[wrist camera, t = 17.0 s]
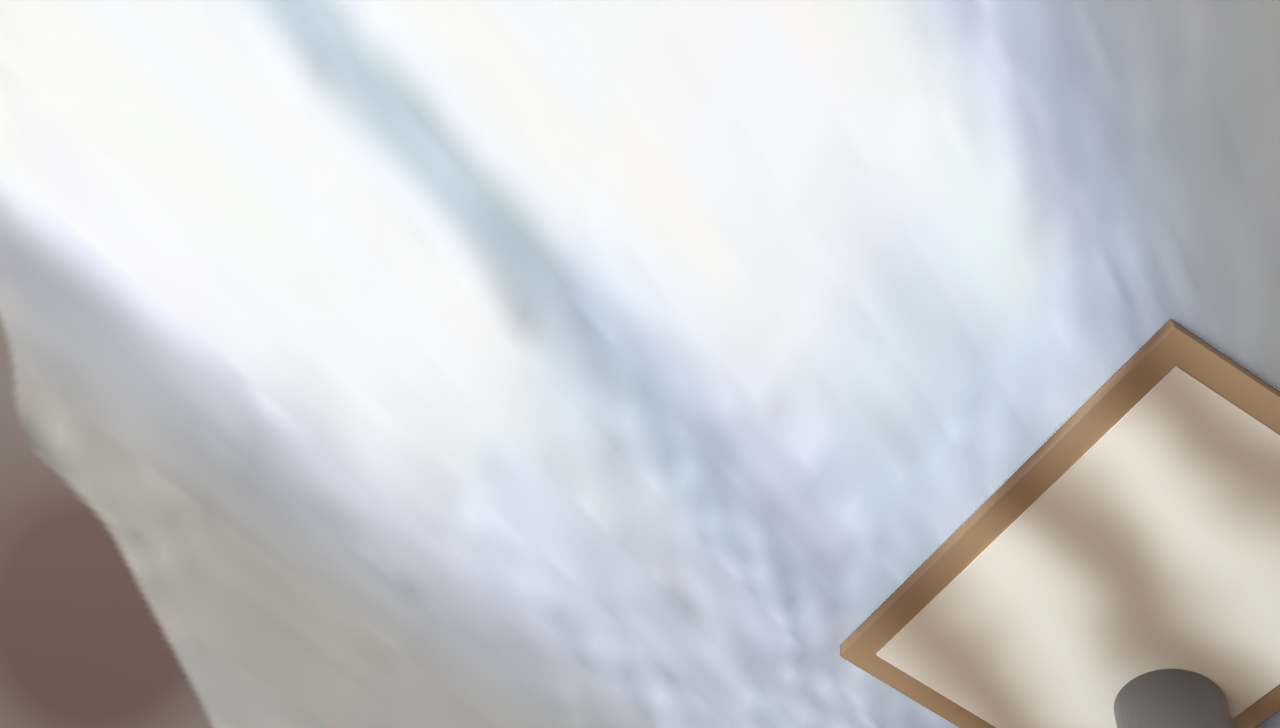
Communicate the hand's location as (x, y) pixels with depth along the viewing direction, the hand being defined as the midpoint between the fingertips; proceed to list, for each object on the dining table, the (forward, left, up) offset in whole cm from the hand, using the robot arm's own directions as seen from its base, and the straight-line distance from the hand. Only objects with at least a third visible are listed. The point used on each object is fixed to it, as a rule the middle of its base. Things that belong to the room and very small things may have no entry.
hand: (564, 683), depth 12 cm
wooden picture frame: (+10, +23, -28) cm, 38 cm away
